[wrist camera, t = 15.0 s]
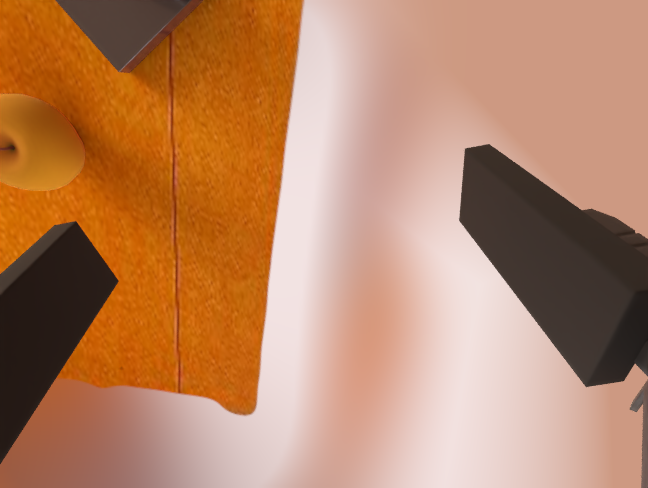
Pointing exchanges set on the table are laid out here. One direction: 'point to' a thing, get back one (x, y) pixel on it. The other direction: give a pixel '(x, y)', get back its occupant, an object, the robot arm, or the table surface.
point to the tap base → (127, 25)
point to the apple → (37, 145)
